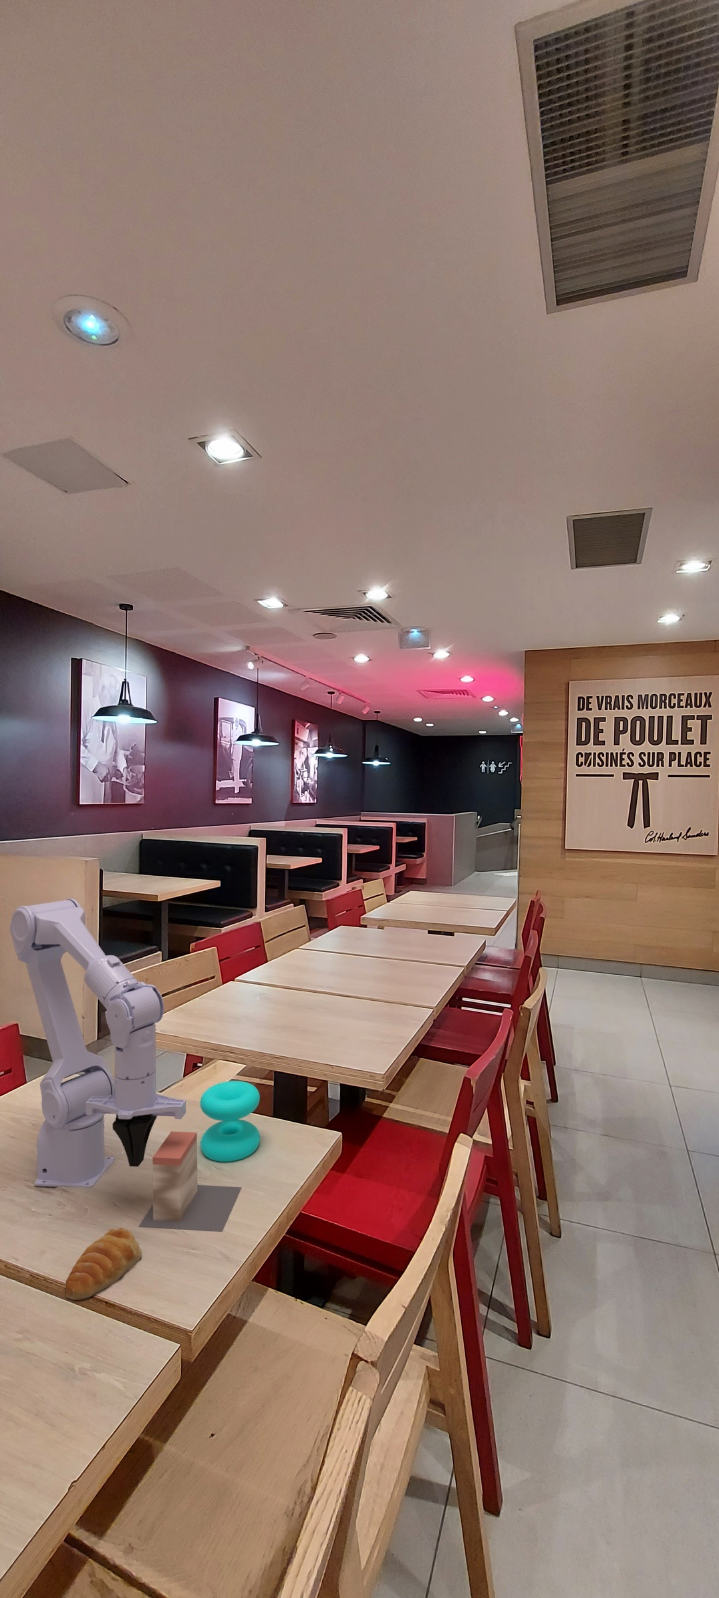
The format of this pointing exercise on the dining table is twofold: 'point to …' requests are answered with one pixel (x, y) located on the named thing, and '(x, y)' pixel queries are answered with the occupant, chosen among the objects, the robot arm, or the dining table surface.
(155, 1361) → the dining table surface
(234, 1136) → the donuts
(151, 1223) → the mat
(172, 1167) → the block
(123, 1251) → the pastry
